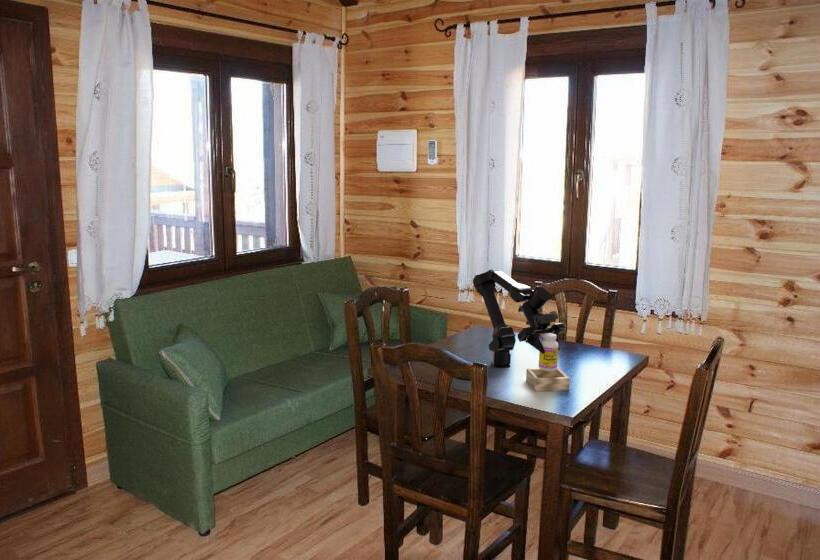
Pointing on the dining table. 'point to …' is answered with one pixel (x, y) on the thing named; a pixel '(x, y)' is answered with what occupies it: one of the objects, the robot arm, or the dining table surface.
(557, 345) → the supplement bottle
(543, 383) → the birch box
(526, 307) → the robot arm
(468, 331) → the dining table surface
